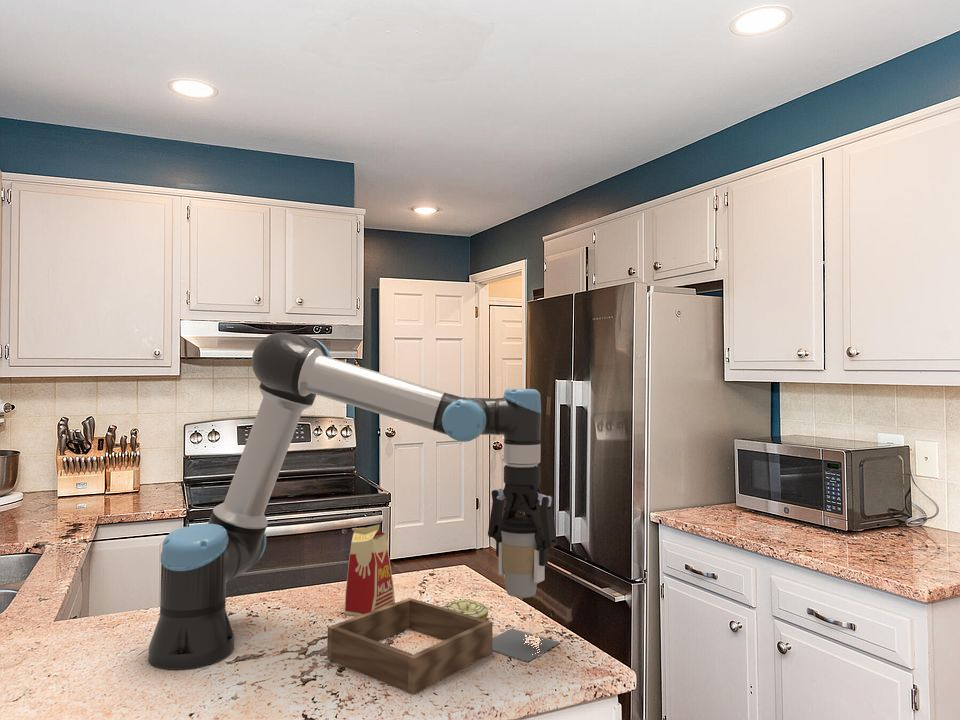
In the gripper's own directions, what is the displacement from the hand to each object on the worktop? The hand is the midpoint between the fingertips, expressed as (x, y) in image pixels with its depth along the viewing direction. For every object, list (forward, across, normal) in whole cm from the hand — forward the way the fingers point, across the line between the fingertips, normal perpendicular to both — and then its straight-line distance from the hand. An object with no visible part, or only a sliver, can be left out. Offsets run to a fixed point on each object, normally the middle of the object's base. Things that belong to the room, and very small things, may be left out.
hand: (521, 577), depth 136 cm
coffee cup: (+3, 0, 0) cm, 3 cm away
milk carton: (+14, +38, +6) cm, 41 cm away
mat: (+14, 0, 0) cm, 14 cm away
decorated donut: (+14, +17, -3) cm, 22 cm away
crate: (+13, +13, +18) cm, 26 cm away
